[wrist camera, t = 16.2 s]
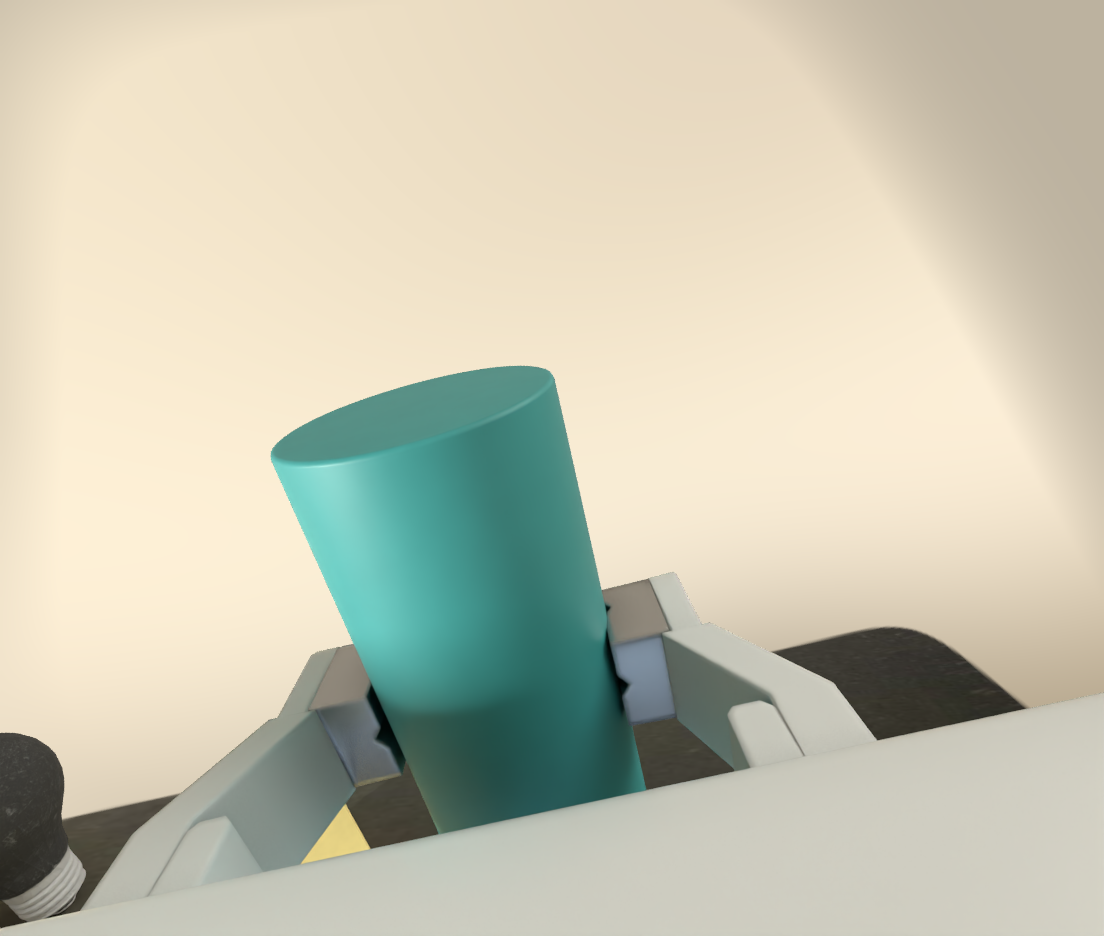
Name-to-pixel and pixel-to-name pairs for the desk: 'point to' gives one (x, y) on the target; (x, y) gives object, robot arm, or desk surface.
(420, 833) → the desk surface
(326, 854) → the writing pad
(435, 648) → the cylinder
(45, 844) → the light bulb
